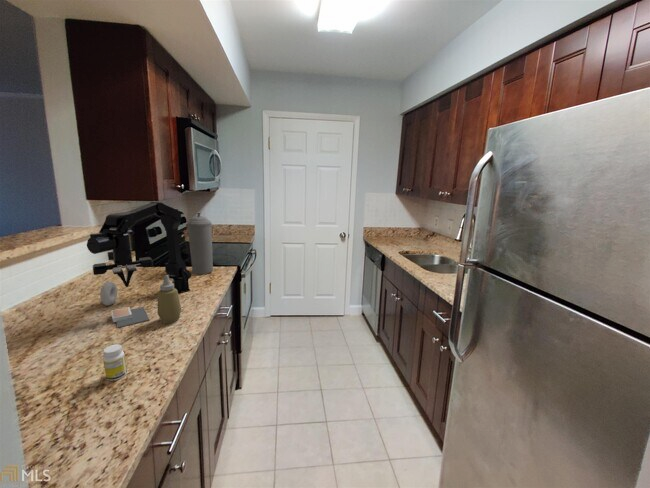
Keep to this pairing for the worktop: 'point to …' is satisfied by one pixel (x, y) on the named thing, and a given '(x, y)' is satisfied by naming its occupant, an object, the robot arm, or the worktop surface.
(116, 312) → the tile
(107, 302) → the donut
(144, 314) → the mat
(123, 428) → the worktop surface
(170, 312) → the squeeze bottle
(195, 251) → the canister
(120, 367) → the supplement bottle
